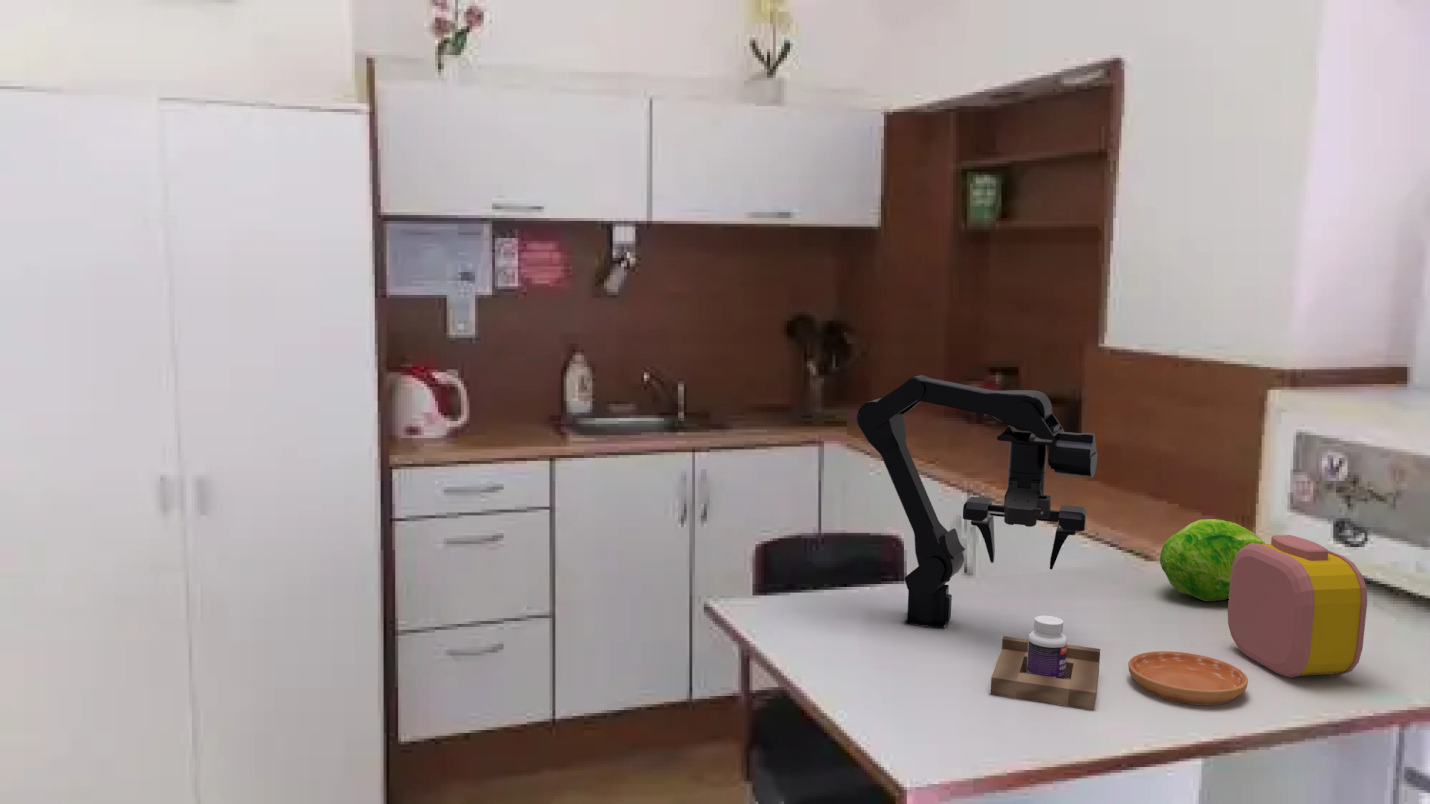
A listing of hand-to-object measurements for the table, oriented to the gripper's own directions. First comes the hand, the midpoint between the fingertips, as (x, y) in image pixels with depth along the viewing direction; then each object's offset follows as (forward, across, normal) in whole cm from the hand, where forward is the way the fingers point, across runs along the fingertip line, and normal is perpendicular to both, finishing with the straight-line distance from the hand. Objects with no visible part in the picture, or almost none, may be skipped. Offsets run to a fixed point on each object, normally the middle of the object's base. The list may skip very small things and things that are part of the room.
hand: (1021, 565), depth 181 cm
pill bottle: (+12, +6, -19) cm, 23 cm away
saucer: (+12, +25, -12) cm, 30 cm away
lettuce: (+12, +31, +37) cm, 50 cm away
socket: (+12, +6, -19) cm, 23 cm away
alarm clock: (+12, +40, +4) cm, 42 cm away
